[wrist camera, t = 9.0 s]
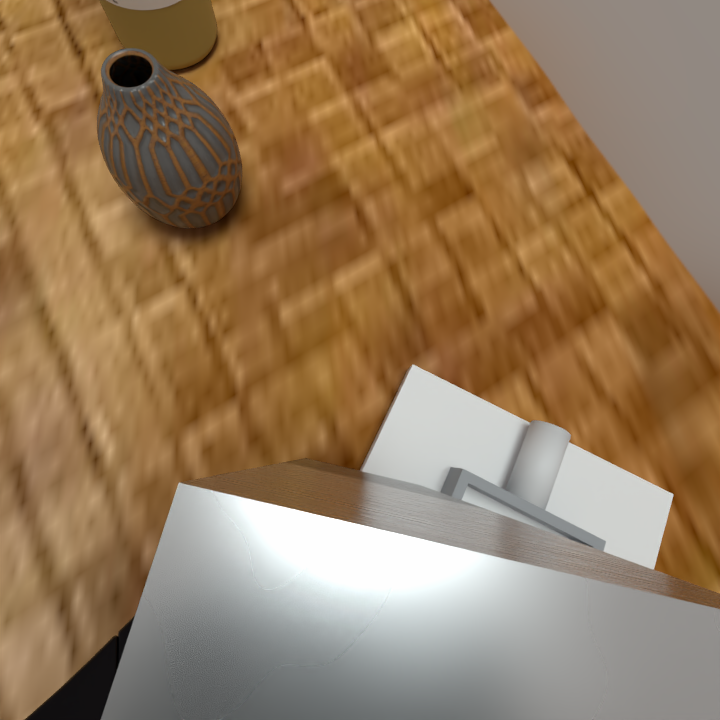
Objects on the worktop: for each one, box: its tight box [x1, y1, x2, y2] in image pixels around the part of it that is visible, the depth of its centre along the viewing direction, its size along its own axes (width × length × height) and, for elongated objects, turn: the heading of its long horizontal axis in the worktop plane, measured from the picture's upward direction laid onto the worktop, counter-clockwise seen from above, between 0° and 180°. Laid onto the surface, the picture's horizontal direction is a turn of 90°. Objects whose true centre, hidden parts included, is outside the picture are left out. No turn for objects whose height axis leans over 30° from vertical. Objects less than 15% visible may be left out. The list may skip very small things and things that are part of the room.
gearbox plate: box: [360, 365, 674, 570], centre depth 19 cm, size 16×16×4 cm
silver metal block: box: [101, 458, 720, 720], centre depth 8 cm, size 5×5×13 cm
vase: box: [97, 48, 242, 228], centre depth 21 cm, size 7×7×9 cm
